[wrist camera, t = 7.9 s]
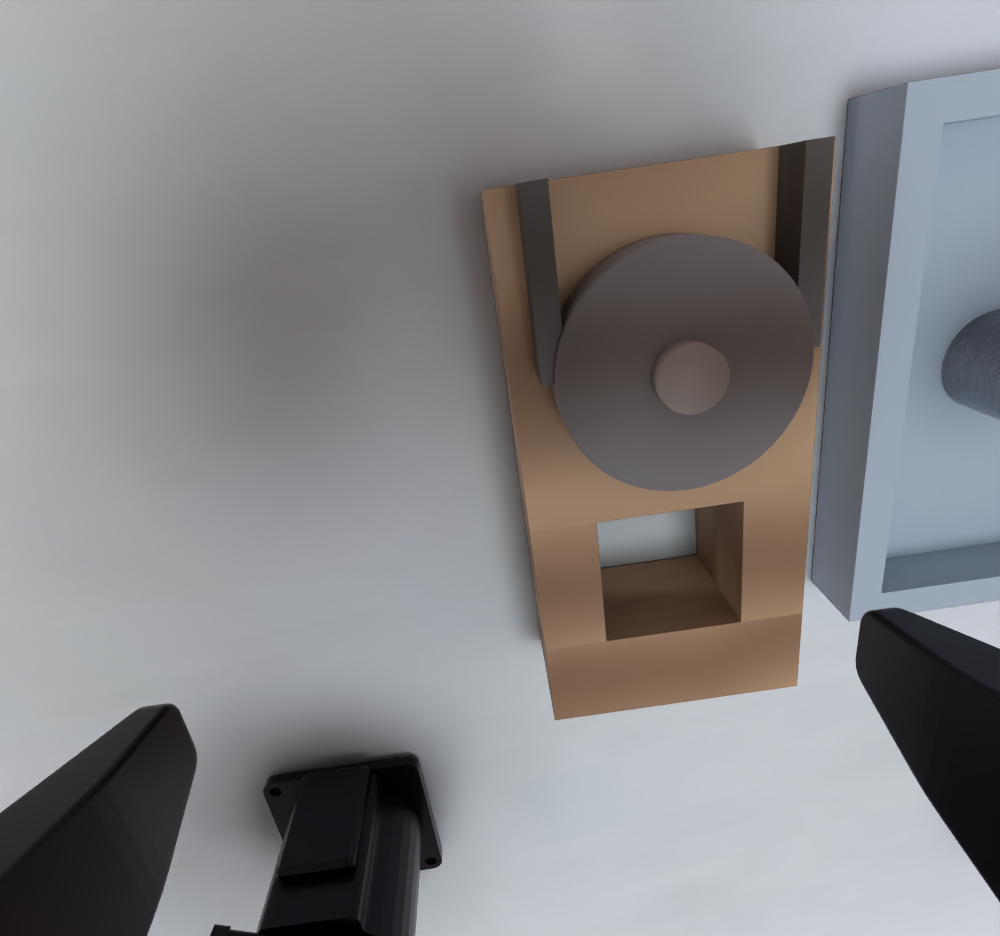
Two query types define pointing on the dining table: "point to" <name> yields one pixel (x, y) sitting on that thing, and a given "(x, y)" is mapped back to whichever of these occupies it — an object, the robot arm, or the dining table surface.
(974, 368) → the pin
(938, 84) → the tray
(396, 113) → the dining table surface
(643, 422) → the tensioner block
